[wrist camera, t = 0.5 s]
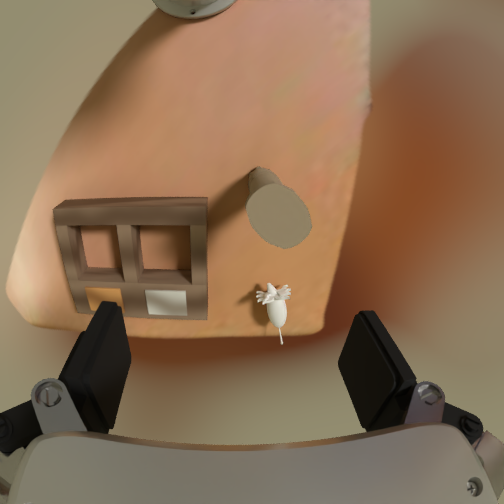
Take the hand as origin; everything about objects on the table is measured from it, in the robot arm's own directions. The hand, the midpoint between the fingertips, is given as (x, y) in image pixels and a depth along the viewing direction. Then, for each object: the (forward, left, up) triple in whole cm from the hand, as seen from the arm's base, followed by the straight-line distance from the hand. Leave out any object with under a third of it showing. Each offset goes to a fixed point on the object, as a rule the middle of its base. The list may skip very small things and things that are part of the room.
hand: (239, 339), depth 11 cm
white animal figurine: (+22, +8, -31) cm, 39 cm away
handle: (+1, +4, -31) cm, 31 cm away
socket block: (+13, -14, -31) cm, 36 cm away
